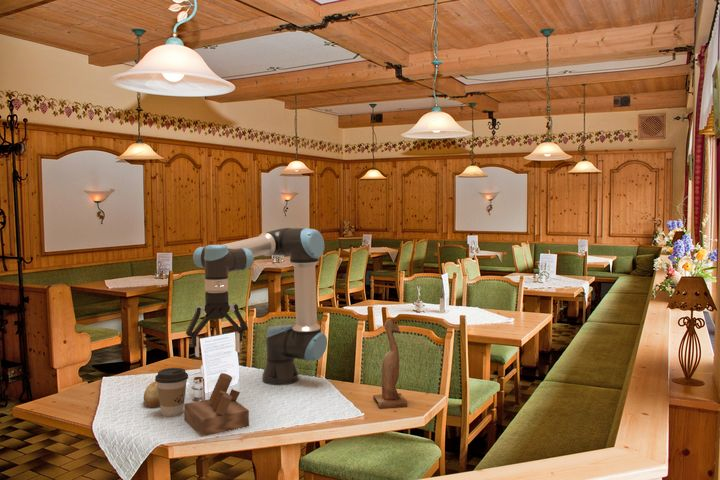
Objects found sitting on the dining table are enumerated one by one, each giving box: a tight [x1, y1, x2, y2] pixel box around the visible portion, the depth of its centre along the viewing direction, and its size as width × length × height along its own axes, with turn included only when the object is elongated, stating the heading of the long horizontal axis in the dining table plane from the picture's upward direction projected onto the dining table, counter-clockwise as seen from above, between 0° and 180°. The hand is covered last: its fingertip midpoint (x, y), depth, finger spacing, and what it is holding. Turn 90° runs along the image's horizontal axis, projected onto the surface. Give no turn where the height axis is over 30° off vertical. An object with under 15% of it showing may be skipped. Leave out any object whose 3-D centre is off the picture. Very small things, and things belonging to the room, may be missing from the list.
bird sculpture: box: [372, 318, 408, 409], centre depth 222 cm, size 11×12×32 cm
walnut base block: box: [183, 398, 250, 437], centre depth 201 cm, size 16×18×6 cm
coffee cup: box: [154, 367, 189, 417], centre depth 210 cm, size 11×11×15 cm
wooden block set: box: [208, 372, 241, 416], centre depth 201 cm, size 18×9×10 cm, turn 4°
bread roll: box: [143, 380, 160, 408], centre depth 222 cm, size 10×15×8 cm, turn 177°
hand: (217, 353), depth 200 cm, fingers open, 13 cm apart
